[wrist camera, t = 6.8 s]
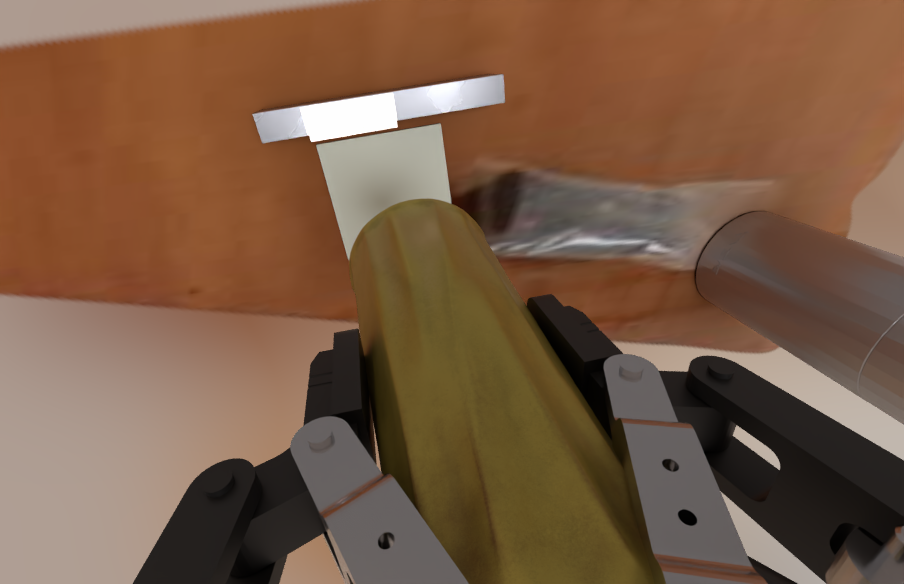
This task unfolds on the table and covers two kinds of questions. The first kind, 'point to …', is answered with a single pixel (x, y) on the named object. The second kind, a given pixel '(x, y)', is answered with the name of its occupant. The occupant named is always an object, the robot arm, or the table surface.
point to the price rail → (377, 108)
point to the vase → (484, 410)
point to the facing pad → (382, 174)
